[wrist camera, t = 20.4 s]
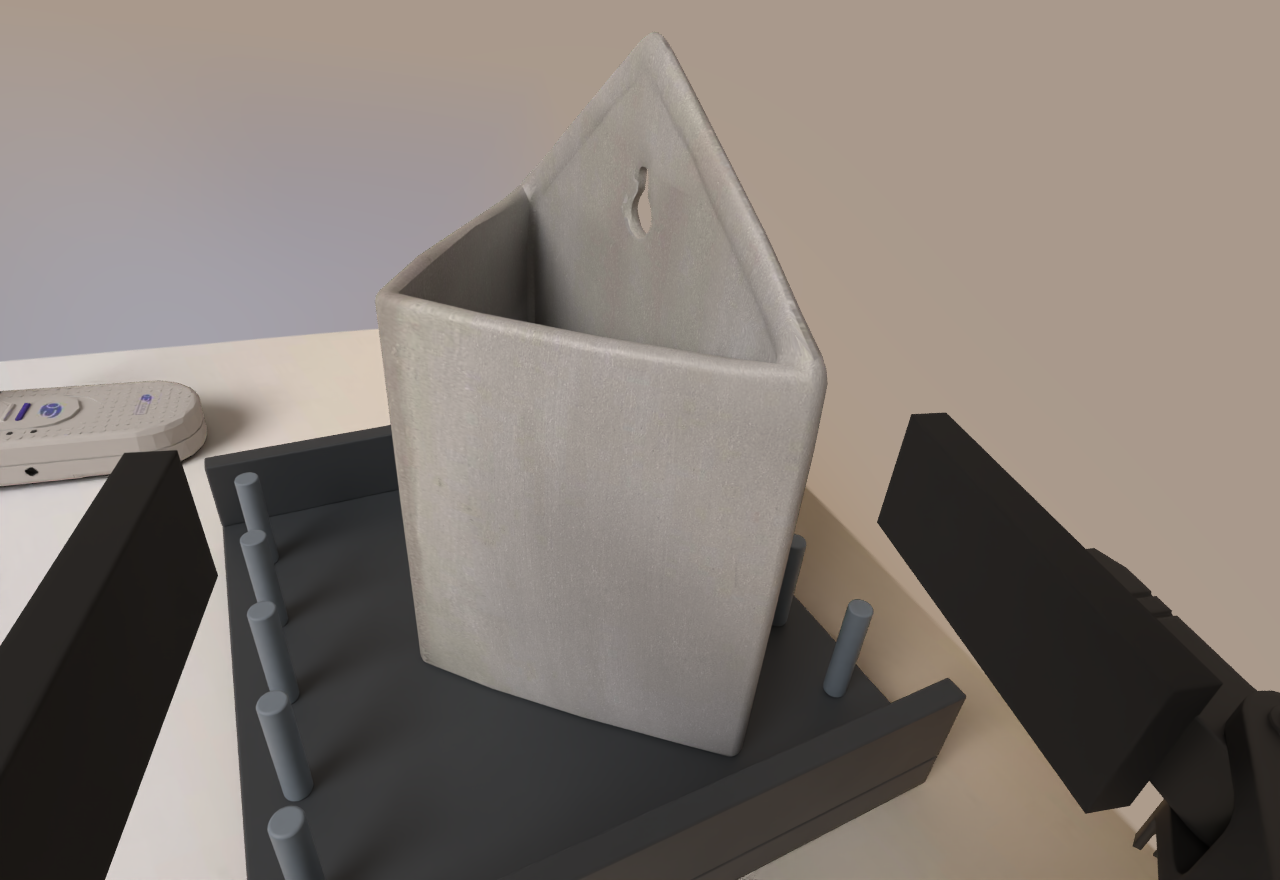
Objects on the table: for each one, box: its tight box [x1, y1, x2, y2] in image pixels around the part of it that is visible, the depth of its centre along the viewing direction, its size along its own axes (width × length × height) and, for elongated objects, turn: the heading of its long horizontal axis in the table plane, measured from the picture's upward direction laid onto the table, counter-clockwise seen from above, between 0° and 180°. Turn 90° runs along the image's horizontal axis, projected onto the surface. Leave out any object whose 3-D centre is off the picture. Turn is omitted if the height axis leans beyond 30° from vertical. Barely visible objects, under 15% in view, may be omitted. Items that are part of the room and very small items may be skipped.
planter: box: [375, 32, 827, 756], centre depth 22 cm, size 16×8×19 cm, turn 31°
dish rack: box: [205, 425, 966, 880], centre depth 27 cm, size 20×21×6 cm
